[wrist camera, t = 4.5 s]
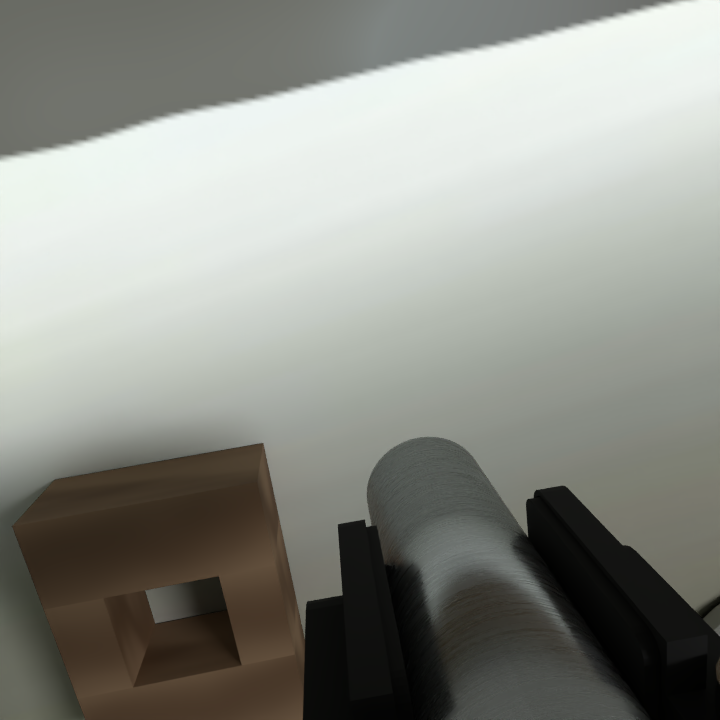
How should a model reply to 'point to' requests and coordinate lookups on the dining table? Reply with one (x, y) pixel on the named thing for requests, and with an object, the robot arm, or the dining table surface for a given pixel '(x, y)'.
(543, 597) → the peg
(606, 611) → the robot arm
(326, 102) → the dining table surface
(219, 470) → the hole block
